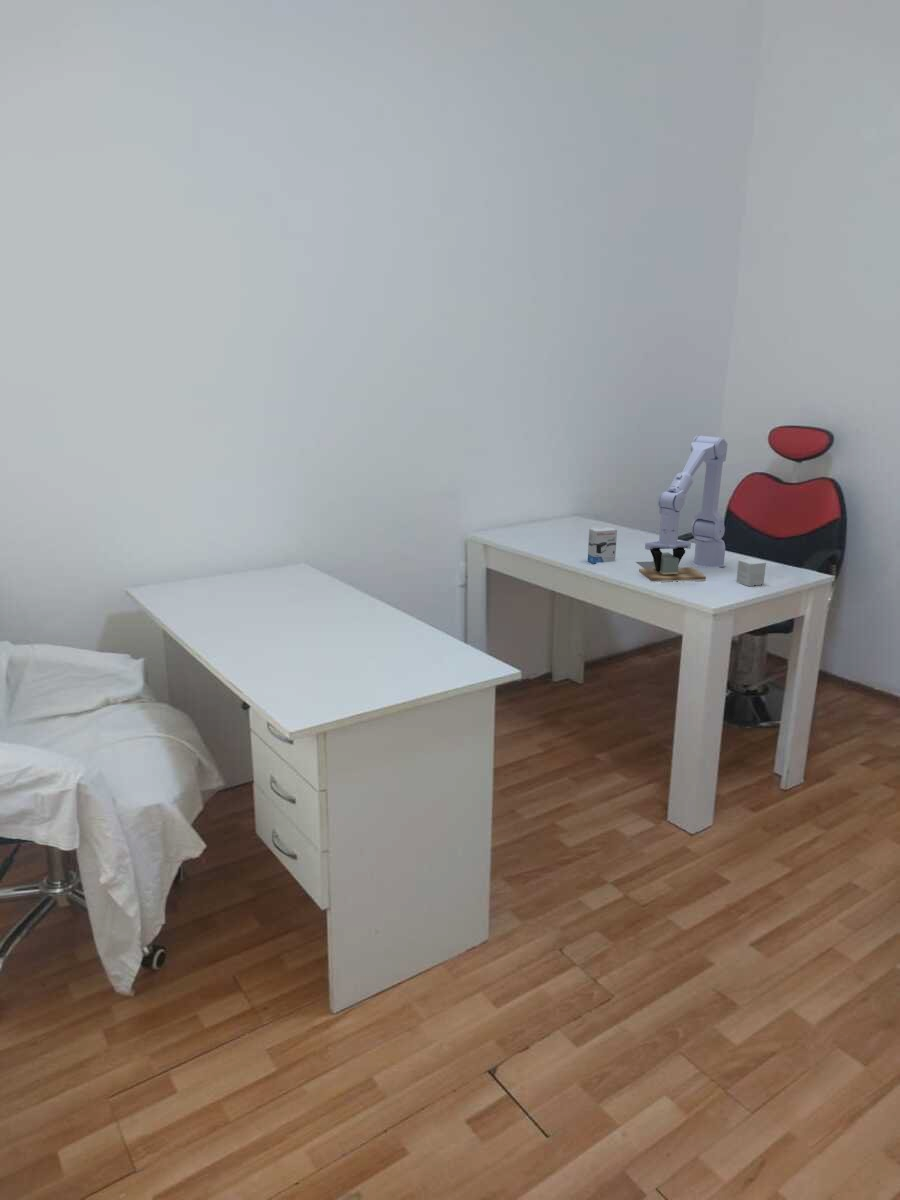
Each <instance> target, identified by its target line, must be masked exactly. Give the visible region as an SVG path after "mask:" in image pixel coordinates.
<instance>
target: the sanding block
mask: <svg viewBox="0 0 900 1200" xmlns="http://www.w3.org/2000/svg"><path fill="white" fill-rule="evenodd" d="M652 560H653V568H654V569H655V563H654V559H652ZM679 564H680V562H679V558H677V557H675V556H674V555H673V553H671V552H662V556H661V562H660V571H659V572H660V573H661V574H663V575H664V574H678V567H679ZM679 568H680V567H679ZM655 570H656V569H655Z"/></svg>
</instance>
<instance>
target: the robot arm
mask: <svg viewBox="0 0 900 1200" xmlns="http://www.w3.org/2000/svg"><path fill="white" fill-rule="evenodd" d="M727 451H728V442H727V441H726V439H725V437H724V436H723V437H722V436H721V437H717V436H708V435H707V436H705V435H700V434H699V435H695V436H694V438H693V439H692V442H691V444H690V455H689V457H688V458H687V460H686V463H685V465H684V468H683V470H682V472H678V473H676V475H675V477H674V478H673V480H672V482H671V483H670V484H669V487H668V489H667V490H665V491H663V492H662V493H661V494H660V495H659V497H658V500H657V506H658V508H659V514H660V524H659V540H658V541H650V542H645V543H644V549H645V550H647V551H650V553H651V555H652V558H653V559H654V563H655V569H656V571H658V572H659V571H660V562H661V556H662V553H663V552H662V551H661V550H668V549H672V555H674V556H675V557H677V558H679V563H680V562H681V560H682V558H683V557H684V555H685V554H686V549H689V550H690V549H691V547H692V543H691V542H690V541H679V540H678V538H679V526H680V525H679V524H680V513H681V511H682V509H683V508H684V506H685V503H686V499H687V493H688V491H689V489H690V488H691V486H692V484H693V483H694V481H693V476H694V475H695V474H696V472H697V471H698V469H699V468H700V467H701V465H702V464H703V462H704V463H705V464H706V465H705V466H706V467H705V474H704V484H703V493H702V499H701V500H702V502H701V511H698V512H697V513H696V514H694V515H693V521H692V523H691V527H690V531H691V534H692V536H693V539H695V547H694V557H693V558H694V559H693V560H689V562H690V563H691V564H692V565H694V566H696V567H697V568H701V567H702V568H703V567H705V568H707V567H718V568H725V557H726V556H725V554H726V544H725V541H724V540H723V539H722V538H724V535H725V532H726V527H725V517H724V516H723V515H721V514H720V513H719V512H718V509H719V508H718V507H719V501H720V500H719V499H720V492H721V491H720V490H721V482H722V473H723V464H724V463H725V462H726V459H727ZM653 559H652V560H653Z"/></svg>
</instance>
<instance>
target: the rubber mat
mask: <svg viewBox="0 0 900 1200" xmlns="http://www.w3.org/2000/svg"><path fill="white" fill-rule="evenodd" d="M635 563H636V564H637V565H639V566H640V567H641V568H642V569H648V568H653V561H635ZM678 568H680V567H678Z"/></svg>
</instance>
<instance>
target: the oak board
mask: <svg viewBox="0 0 900 1200" xmlns="http://www.w3.org/2000/svg"><path fill="white" fill-rule="evenodd" d="M638 572H639V573H640V574H641V575H643V576H644V577H645V578H647V579H648V580H649V581H650V582H667V583H674V582H673V581H676V582H675V583H679V582H678V581H700V582H706V581H707V580H706V579H707V576H706V575H704V574H702V573H701V572H700V571H698V570H697V569H695V568H694V567H691V566H687V567H679V568H678V574H664V575H663V574H661V573H660V572H658V571H656V570H655V569H654V568H648V569H644V568H638Z"/></svg>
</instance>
